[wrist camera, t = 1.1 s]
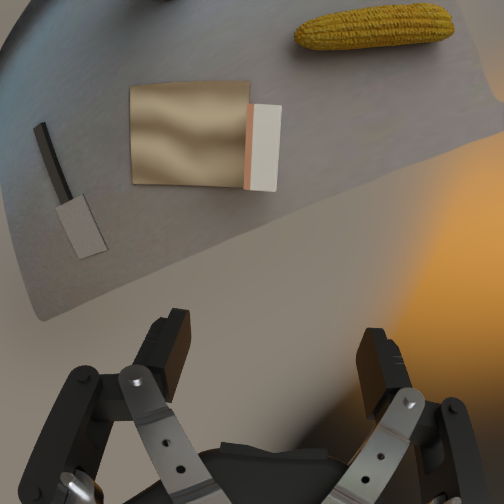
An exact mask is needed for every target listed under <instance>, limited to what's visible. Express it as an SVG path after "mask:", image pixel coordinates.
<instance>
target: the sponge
mask: <svg viewBox="0 0 504 504" xmlns="http://www.w3.org/2000/svg"><path fill="white" fill-rule="evenodd" d="M281 110H282V106H280V105H264V104H247V120H246V143H245V168H244V190H257V191H271V192H276V186H277V172H278V157H279V142H280V126H281Z"/></svg>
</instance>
